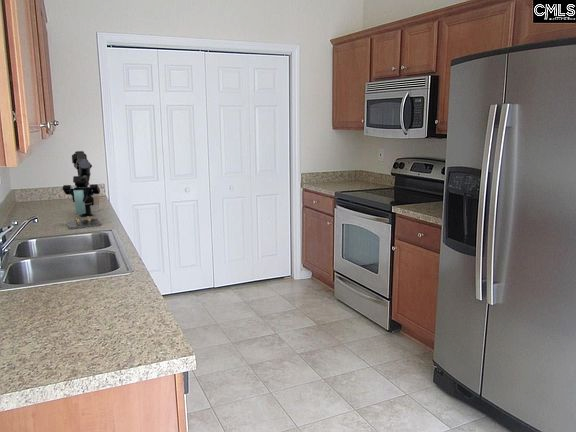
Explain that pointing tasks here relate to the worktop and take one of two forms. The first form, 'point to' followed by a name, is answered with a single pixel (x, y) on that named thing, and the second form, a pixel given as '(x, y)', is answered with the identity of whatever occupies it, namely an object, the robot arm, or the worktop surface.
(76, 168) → the robot arm
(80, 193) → the post
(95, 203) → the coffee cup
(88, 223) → the metal base plate
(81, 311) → the worktop surface
